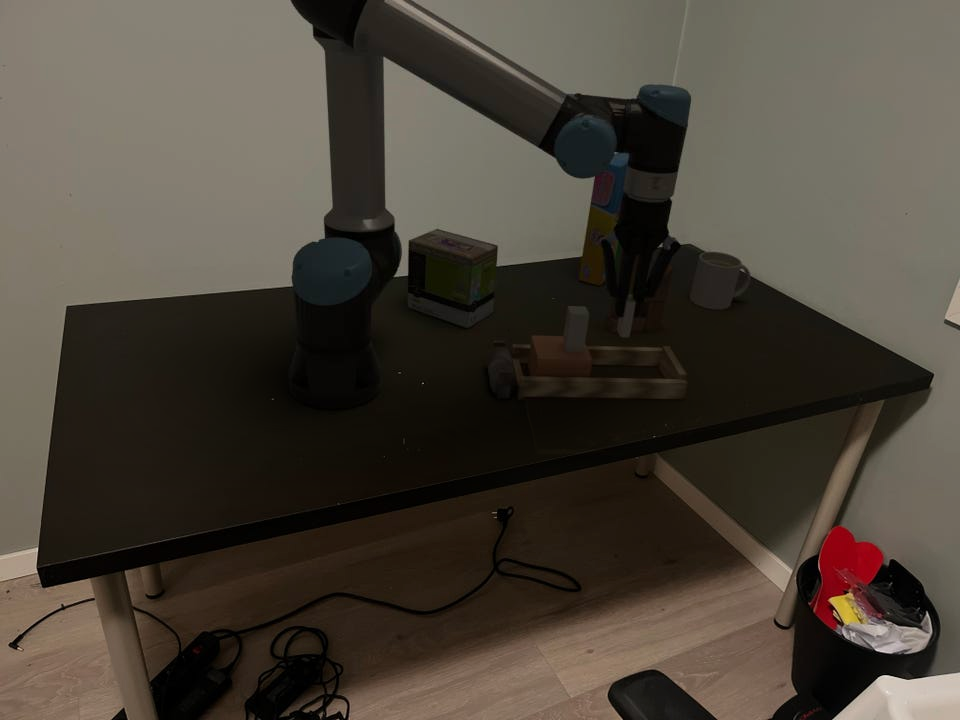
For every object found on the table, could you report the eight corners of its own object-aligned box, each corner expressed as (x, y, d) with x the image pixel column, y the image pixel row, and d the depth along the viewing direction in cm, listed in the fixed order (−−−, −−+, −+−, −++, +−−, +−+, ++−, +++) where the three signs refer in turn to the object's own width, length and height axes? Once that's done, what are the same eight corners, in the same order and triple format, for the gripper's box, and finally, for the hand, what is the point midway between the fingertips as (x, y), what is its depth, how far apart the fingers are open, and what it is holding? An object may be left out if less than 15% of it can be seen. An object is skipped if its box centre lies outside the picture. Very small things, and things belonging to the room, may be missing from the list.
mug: (684, 302, 156) (694, 259, 151) (697, 288, 163) (707, 247, 158) (733, 316, 151) (745, 273, 146) (744, 301, 159) (756, 259, 154)
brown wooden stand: (659, 333, 142) (678, 248, 133) (610, 337, 139) (626, 251, 130) (650, 325, 145) (668, 241, 136) (602, 328, 142) (617, 243, 133)
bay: (490, 400, 117) (492, 374, 114) (484, 363, 127) (486, 338, 125) (682, 403, 120) (689, 378, 117) (661, 366, 130) (667, 343, 128)
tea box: (494, 313, 145) (500, 244, 138) (467, 330, 138) (471, 259, 130) (434, 292, 152) (437, 226, 144) (405, 308, 144) (406, 239, 137)
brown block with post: (534, 390, 118) (543, 321, 112) (527, 364, 126) (535, 297, 119) (587, 391, 119) (599, 322, 113) (577, 365, 127) (587, 299, 120)
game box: (599, 287, 160) (619, 166, 146) (577, 281, 162) (595, 161, 149) (631, 260, 176) (652, 149, 162) (610, 254, 178) (629, 144, 165)
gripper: (611, 201, 103) (589, 343, 115) (697, 204, 105) (667, 344, 116) (599, 186, 110) (580, 322, 122) (681, 189, 111) (654, 324, 123)
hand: (623, 333), depth 119 cm, fingers closed
